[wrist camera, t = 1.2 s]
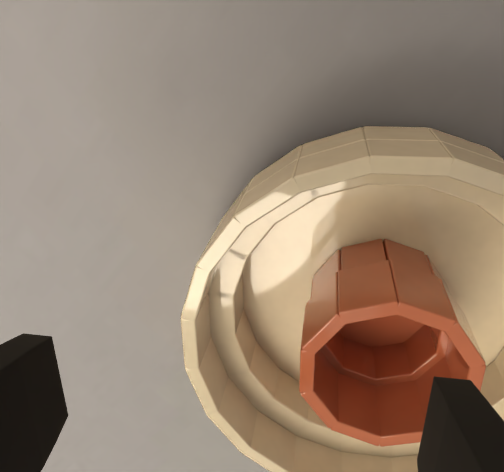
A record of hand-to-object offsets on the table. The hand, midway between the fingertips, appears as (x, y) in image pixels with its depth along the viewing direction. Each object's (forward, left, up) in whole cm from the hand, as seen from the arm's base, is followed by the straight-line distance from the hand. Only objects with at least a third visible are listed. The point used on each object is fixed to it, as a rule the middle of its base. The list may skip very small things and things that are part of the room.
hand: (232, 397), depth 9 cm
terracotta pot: (-5, 0, -9) cm, 10 cm away
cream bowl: (-5, 0, -10) cm, 11 cm away
